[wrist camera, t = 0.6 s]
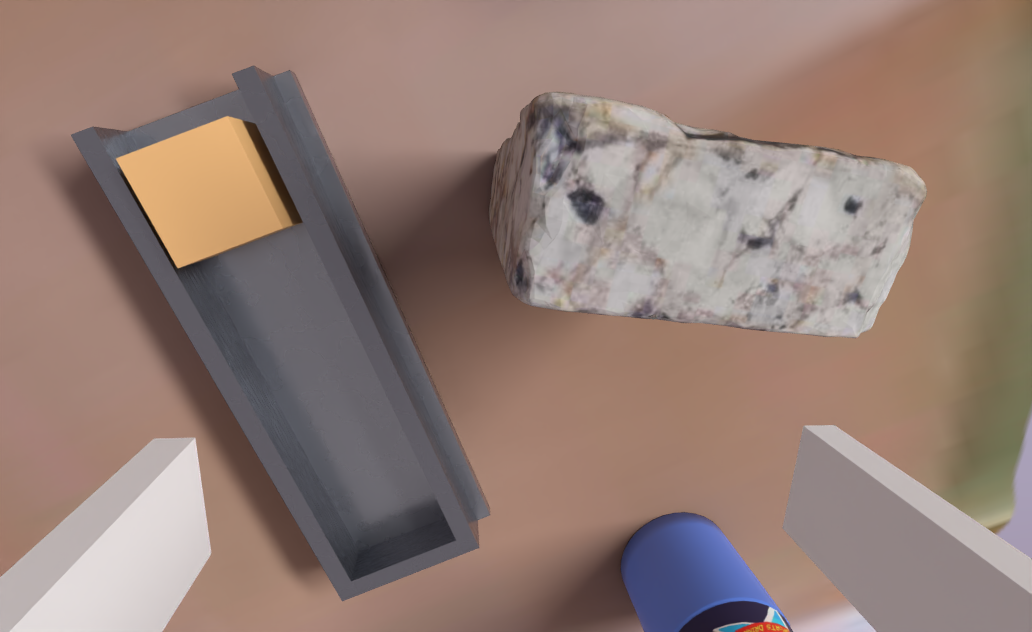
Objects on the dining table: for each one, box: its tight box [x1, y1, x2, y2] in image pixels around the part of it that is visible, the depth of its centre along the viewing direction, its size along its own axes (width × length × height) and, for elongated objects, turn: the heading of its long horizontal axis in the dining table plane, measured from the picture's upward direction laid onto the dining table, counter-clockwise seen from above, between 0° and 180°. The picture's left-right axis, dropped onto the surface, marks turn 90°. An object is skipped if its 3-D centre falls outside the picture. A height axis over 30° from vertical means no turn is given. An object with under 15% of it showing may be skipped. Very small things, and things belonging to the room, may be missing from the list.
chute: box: [71, 66, 490, 601], centre depth 33 cm, size 32×12×4 cm, turn 20°
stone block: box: [489, 92, 927, 338], centre depth 25 cm, size 13×7×20 cm, turn 87°
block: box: [116, 116, 303, 268], centre depth 29 cm, size 6×6×4 cm
